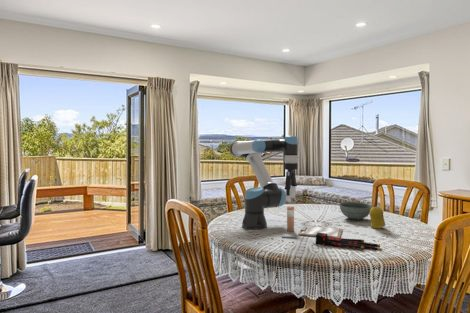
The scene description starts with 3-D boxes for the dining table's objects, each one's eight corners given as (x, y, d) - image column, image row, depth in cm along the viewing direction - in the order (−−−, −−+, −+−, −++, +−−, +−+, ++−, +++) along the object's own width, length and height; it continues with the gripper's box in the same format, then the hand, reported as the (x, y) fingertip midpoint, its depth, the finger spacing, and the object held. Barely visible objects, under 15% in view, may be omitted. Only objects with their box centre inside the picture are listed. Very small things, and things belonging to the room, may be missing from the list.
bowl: (355, 214, 241) (355, 200, 240) (379, 220, 222) (379, 205, 222) (332, 217, 232) (332, 203, 232) (355, 224, 213) (355, 208, 213)
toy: (379, 250, 167) (317, 241, 178) (380, 240, 167) (317, 231, 178) (379, 256, 159) (314, 245, 171) (380, 245, 159) (315, 235, 170)
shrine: (382, 231, 196) (382, 205, 195) (367, 229, 200) (367, 204, 200) (386, 227, 205) (386, 202, 204) (372, 225, 210) (372, 201, 209)
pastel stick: (286, 231, 197) (286, 207, 197) (287, 229, 201) (287, 206, 200) (293, 232, 196) (293, 207, 195) (294, 230, 200) (294, 206, 199)
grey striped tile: (281, 237, 184) (281, 236, 184) (282, 234, 190) (282, 233, 190) (296, 238, 183) (296, 237, 183) (297, 235, 189) (297, 234, 189)
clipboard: (298, 235, 189) (298, 232, 189) (304, 226, 207) (304, 223, 207) (339, 239, 181) (339, 235, 181) (342, 230, 199) (342, 227, 199)
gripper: (293, 164, 184) (293, 203, 185) (301, 161, 207) (301, 196, 208) (279, 163, 186) (279, 202, 187) (289, 161, 210) (288, 195, 211)
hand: (290, 199), depth 198 cm, fingers open, 13 cm apart
